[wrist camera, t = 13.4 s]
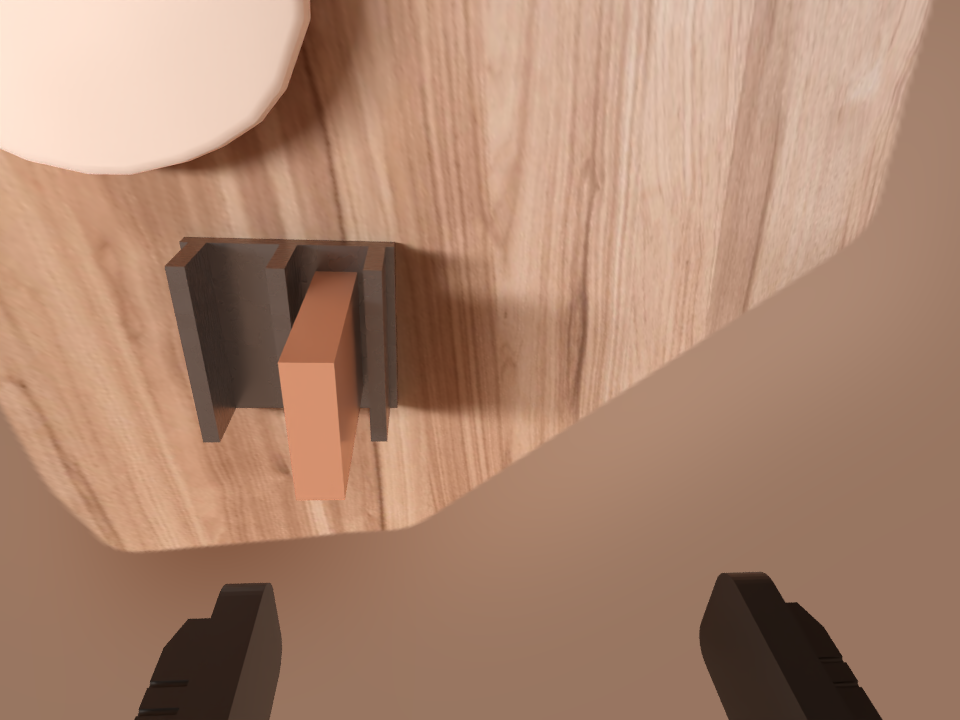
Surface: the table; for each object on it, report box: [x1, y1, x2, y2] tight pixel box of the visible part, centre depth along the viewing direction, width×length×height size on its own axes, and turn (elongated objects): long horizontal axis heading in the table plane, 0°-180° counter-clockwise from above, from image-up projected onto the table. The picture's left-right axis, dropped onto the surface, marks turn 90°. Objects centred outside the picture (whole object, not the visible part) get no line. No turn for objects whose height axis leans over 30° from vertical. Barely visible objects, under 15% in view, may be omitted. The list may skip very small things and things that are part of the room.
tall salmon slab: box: [278, 271, 363, 500], centre depth 42 cm, size 10×3×13 cm, turn 177°
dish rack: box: [165, 237, 398, 442], centre depth 45 cm, size 14×15×6 cm
